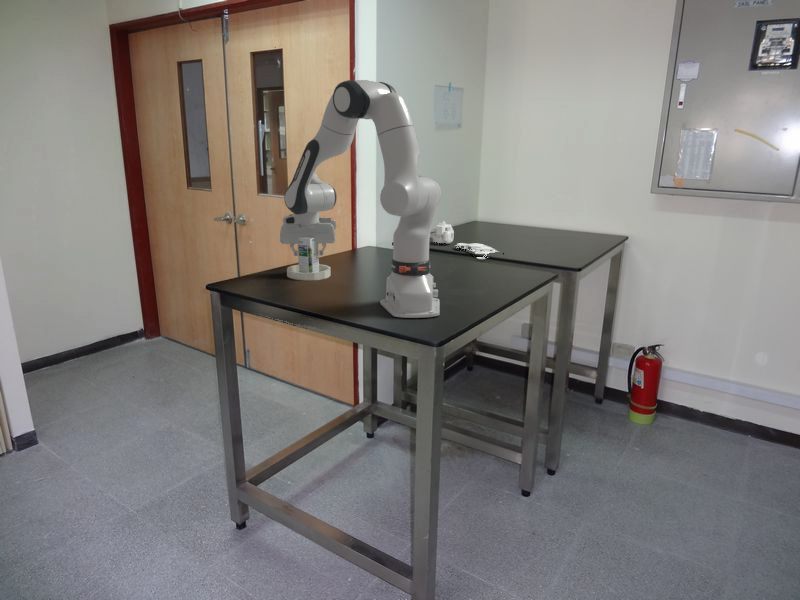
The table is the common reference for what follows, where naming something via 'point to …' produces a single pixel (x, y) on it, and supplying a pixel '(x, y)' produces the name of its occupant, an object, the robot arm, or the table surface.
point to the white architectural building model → (477, 249)
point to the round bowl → (322, 274)
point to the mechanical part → (443, 233)
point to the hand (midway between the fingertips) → (308, 255)
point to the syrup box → (308, 255)
